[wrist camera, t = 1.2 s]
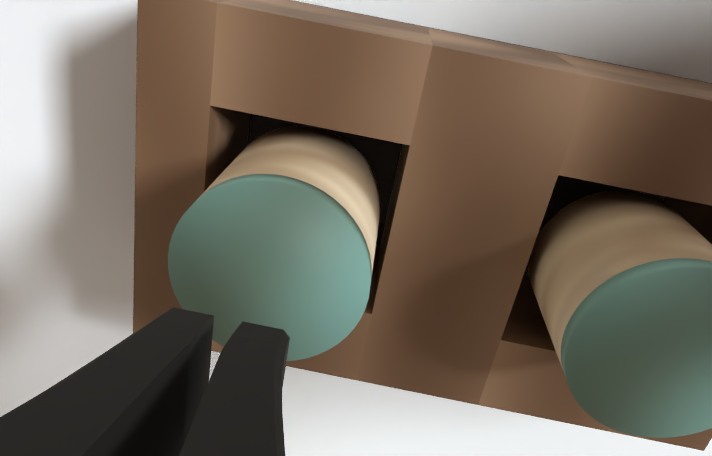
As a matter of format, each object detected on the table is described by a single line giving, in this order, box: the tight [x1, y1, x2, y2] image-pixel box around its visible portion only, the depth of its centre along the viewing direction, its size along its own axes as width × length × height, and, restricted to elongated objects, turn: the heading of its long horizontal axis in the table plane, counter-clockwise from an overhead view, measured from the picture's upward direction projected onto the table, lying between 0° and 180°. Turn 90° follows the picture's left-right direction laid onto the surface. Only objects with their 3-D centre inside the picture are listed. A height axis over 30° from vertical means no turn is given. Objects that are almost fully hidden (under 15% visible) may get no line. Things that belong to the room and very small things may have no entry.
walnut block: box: [133, 0, 712, 451], centre depth 16 cm, size 16×9×4 cm, turn 79°
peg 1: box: [168, 126, 381, 361], centre depth 13 cm, size 4×4×4 cm
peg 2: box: [528, 190, 712, 438], centre depth 13 cm, size 4×4×4 cm
